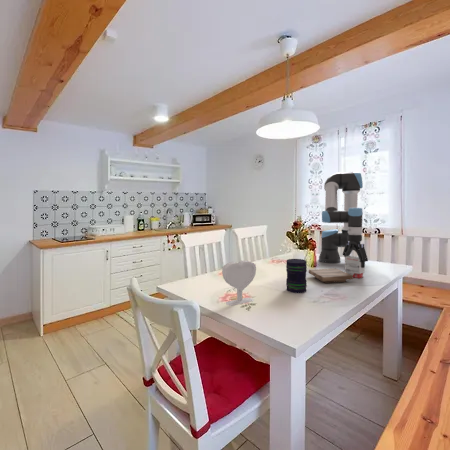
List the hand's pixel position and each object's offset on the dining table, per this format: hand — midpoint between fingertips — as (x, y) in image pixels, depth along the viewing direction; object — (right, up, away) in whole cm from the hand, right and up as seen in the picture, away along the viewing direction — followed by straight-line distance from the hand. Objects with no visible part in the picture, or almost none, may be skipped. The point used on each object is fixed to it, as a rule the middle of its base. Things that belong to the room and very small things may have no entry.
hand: (354, 270), depth 158 cm
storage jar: (-40, -6, -23) cm, 46 cm away
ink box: (0, -4, 0) cm, 4 cm away
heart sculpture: (-69, -8, -37) cm, 79 cm away
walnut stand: (-16, -4, -5) cm, 18 cm away
